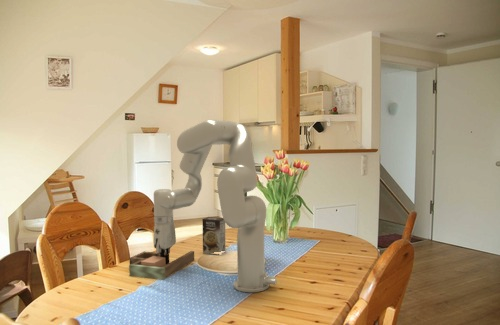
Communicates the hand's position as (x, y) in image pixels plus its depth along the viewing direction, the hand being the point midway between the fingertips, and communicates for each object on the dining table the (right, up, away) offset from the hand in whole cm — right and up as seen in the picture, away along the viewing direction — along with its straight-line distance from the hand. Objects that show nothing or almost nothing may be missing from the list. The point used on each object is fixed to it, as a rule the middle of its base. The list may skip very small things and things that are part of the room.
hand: (164, 263), depth 152 cm
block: (-3, -2, -5) cm, 6 cm away
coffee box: (+18, 0, +19) cm, 27 cm away
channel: (-3, -1, 0) cm, 3 cm away
